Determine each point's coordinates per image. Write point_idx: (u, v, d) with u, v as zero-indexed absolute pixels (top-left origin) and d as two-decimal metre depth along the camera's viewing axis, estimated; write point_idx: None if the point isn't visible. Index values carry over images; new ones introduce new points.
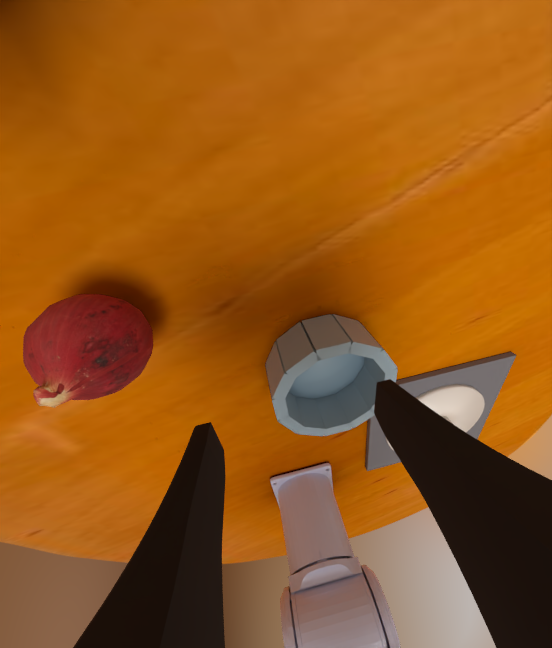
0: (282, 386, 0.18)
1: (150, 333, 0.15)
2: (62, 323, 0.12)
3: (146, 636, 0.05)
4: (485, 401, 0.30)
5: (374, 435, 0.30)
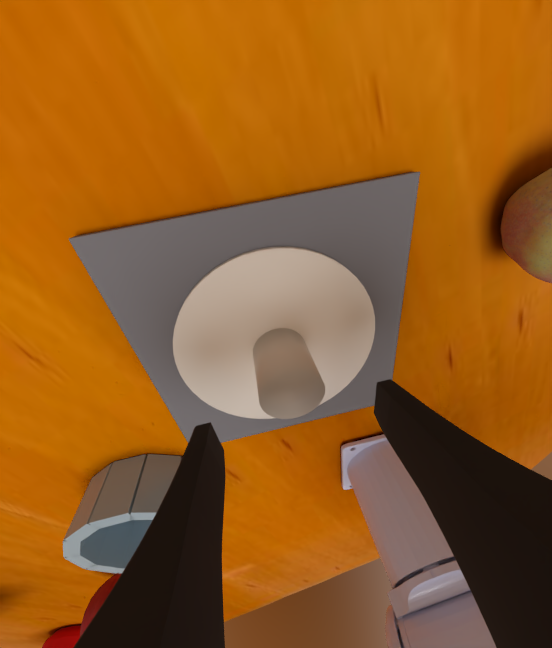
0: None
1: None
2: None
3: (146, 636, 0.05)
4: (235, 239, 0.12)
5: (291, 420, 0.19)
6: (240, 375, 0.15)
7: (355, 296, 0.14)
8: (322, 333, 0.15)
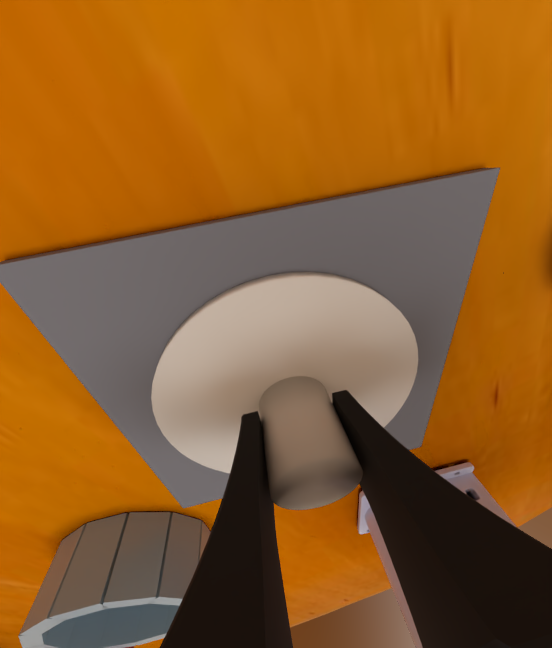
0: None
1: None
2: None
3: (248, 607, 0.05)
4: (235, 264, 0.08)
5: None
6: None
7: (396, 335, 0.10)
8: (349, 380, 0.11)
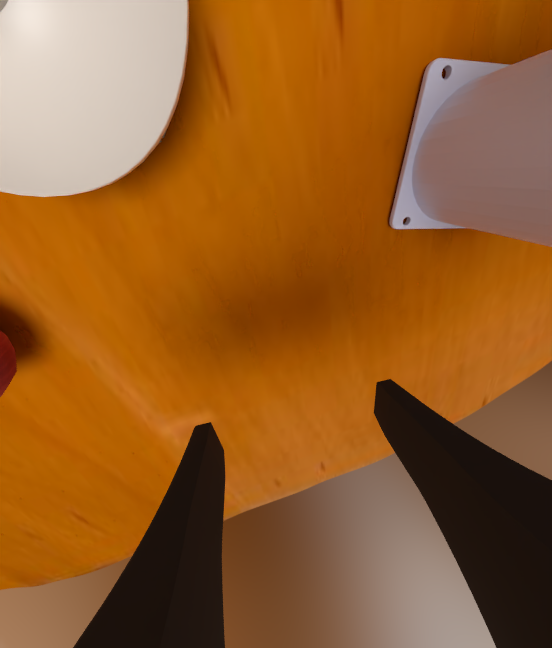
0: None
1: None
2: None
3: (146, 636, 0.05)
4: None
5: None
6: None
7: None
8: None
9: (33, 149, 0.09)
